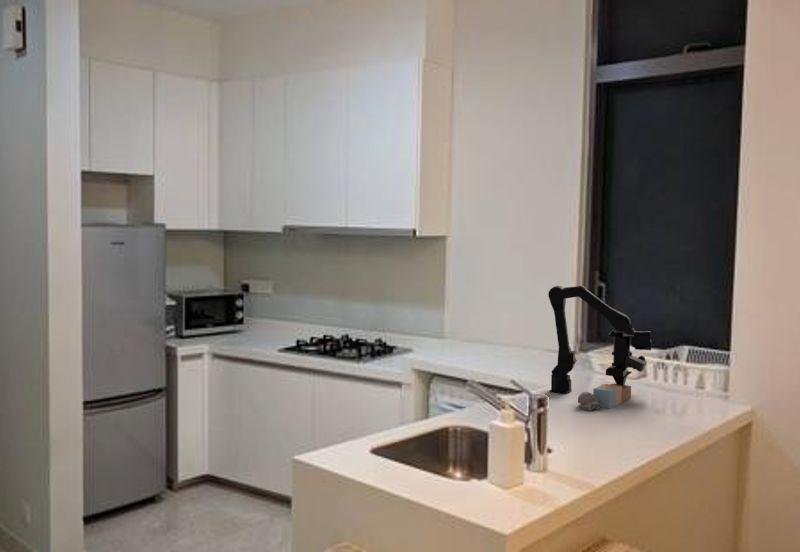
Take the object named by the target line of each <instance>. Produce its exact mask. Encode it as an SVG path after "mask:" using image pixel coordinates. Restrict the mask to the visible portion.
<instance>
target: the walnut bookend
mask: <svg viewBox="0 0 800 552" xmlns="http://www.w3.org/2000/svg"><path fill="white" fill-rule="evenodd" d="M610 385H617V386H622V394H621V403H624V402H626V401H628V400H630V399H631V398H632V386H631V385H628V384H627V385H626V384H625V385H620V384H616V383H610Z"/></svg>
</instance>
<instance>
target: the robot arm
mask: <svg viewBox="0 0 800 552" xmlns="http://www.w3.org/2000/svg"><path fill="white" fill-rule="evenodd" d="M547 296H548V298H549V302H550V303H549V304H550V305H551V308H552V310H553V313H554V321H555V328H556V336H557V343H558V344H557V346H558V351H557V364H556V365H555V366H554V367H553V369H552V370H551V377H550V379H551V380H550V387H551V389H549V392H550V393H558V394H567V393H570V392H572V390H573V389H572V379H571V375H570V374H569V373H570V372H572V370H573V369H574V368H575V366H576V363H577V359H576V358H577V357H576V350H572V348H571V346H570V338H569V333H568V332H569V331H568V324H567V318H566V317H567V316H566V301H567V299H570V298H580V299H581V300H582V301H584V302H585V303H586V304H587V305H589V306H590V307H592V308H593V309H594V310H595V311H596V312H598V313H599V314H601V315H603V316H604V318H605V319H606V320H607V321H608V322H609V323H610V325H611V326H612V327H613V328H614V329H612V330H611V331H610V332H609V333H608V335H607V336H608V337H610V338H611V337H612V338H613V351H611V356H613V357H612V358H613V361H612V363H611V366H609V367H607V368H606V369H605V376H610V377H612V378H613V380H614V382H615V384H620V385H626V382H627V379H628V377H629V375H631V374H632V371H629V369H628V368H632V369H633V370H636V371H637V372H639V373H641V372H643V371H644V370H645V367H646V366H647V361H646V357H645V356H644V355H640V356H638V357H637V356H634V355H633V352H632V351H631V347H633V348H634V350H635V351H636V350H637V351H652V339H651V338H652V331H650V330H648V331H647V330H646V331H645V330H644V331H640V330H639V331H636V329H635V328H634V327H633V325H632V324H631V319H630V316H628V314H625V313H623V312H622V311H619V310H617V309H615V308H613V307H611V306H609V304H607V303H606V302H604V301H603V300H601V299H600V298H599V297H598V296H596V295H595V294H593V293H592V292H591V291H590V290H589V289H587V288H586V286H585V285H577V286H567V287H563V286H561V285H556V286H553V287H551V288H550V290H548V295H547ZM615 330H616V331H615Z"/></svg>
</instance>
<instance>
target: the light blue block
mask: <svg viewBox="0 0 800 552" xmlns="http://www.w3.org/2000/svg"><path fill="white" fill-rule="evenodd" d="M599 386H600V387H599ZM599 386H597V387H595V388H594V387H593V393H592V394H593V395H595V396H596V398H597V400H598V402H599V403H600V404H601V406H600V407H599V408H603V409H608V408H609V410H610V409H612V408H614V407H617V405H616V389H615V388H608V387H601V385H599Z"/></svg>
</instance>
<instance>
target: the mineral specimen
mask: <svg viewBox="0 0 800 552" xmlns="http://www.w3.org/2000/svg"><path fill="white" fill-rule="evenodd" d="M577 403H578V404H579V408H580V409H581V410H585V411H592V410H596V411H597V410H599V408H601V407H600V406H601V404H600V403H599V402H598V400H597V398H596V396H595V395H593V393H592V392H591V393H590V392H589V391H584V392H581V393H580V394H579V395H578V397H577Z"/></svg>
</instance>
